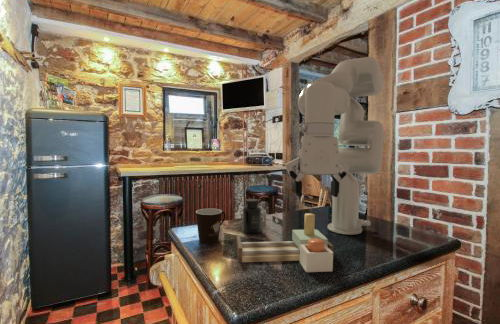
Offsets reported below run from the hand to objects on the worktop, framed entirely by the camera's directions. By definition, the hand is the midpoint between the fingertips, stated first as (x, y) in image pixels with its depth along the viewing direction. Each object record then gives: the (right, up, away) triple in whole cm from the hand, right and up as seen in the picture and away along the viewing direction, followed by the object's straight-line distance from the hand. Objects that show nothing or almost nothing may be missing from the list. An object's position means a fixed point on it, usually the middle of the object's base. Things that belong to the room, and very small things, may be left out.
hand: (316, 196), depth 73 cm
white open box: (0, -19, +1) cm, 19 cm away
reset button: (0, -15, +1) cm, 15 cm away
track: (-8, -18, +9) cm, 22 cm away
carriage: (0, -16, +10) cm, 18 cm away
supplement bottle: (-17, -17, +29) cm, 38 cm away
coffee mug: (-30, -18, +20) cm, 40 cm away
